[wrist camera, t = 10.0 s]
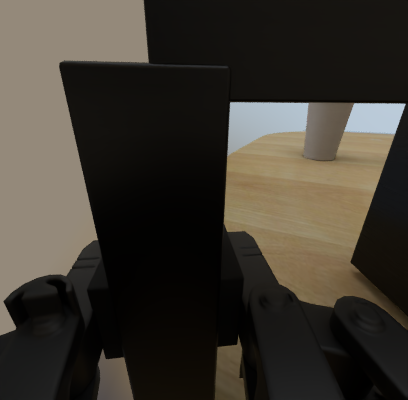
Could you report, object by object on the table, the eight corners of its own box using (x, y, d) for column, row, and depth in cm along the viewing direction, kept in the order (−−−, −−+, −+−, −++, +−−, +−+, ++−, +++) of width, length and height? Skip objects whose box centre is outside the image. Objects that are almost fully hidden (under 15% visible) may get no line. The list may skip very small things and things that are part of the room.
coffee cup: (352, 162, 48) (375, 83, 42) (310, 163, 47) (327, 82, 41) (324, 152, 56) (340, 85, 50) (289, 153, 55) (300, 85, 49)
